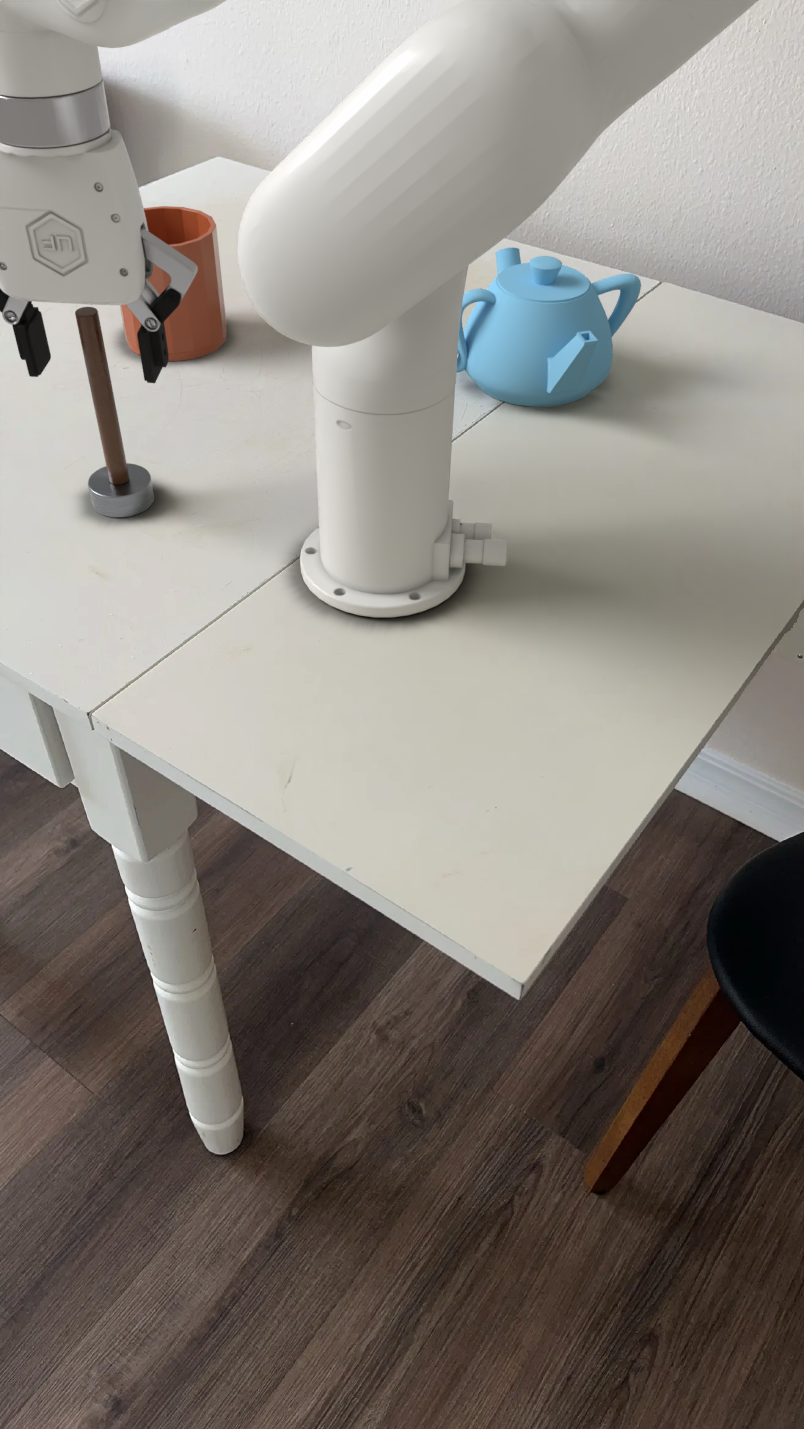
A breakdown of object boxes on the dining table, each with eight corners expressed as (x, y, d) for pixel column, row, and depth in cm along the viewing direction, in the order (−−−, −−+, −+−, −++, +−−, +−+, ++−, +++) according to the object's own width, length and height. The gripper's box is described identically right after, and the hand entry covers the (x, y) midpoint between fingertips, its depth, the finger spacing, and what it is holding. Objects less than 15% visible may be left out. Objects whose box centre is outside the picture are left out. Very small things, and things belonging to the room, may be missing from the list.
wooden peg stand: (160, 485, 90) (129, 298, 79) (146, 519, 87) (111, 328, 75) (101, 482, 90) (62, 294, 79) (84, 516, 87) (41, 325, 75)
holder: (234, 318, 112) (224, 208, 105) (216, 363, 105) (203, 249, 97) (140, 313, 113) (122, 204, 105) (115, 358, 106) (94, 244, 98)
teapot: (637, 354, 108) (657, 240, 100) (581, 435, 97) (599, 314, 89) (495, 322, 113) (503, 211, 105) (426, 396, 102) (430, 278, 94)
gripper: (-112, 126, 66) (-35, 390, 78) (170, 139, 65) (202, 402, 77) (-66, 90, 71) (0, 342, 83) (196, 101, 70) (222, 354, 83)
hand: (97, 370), depth 80 cm, fingers open, 8 cm apart
